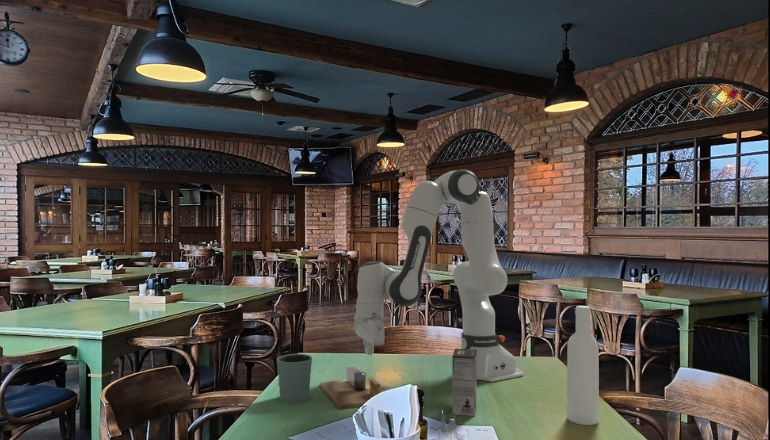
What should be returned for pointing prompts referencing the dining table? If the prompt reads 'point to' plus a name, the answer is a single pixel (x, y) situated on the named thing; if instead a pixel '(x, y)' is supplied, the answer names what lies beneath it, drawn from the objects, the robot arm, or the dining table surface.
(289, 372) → the grey cup
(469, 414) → the coffee box
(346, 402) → the plate
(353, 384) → the swing bar
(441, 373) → the dining table surface
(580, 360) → the bottle
